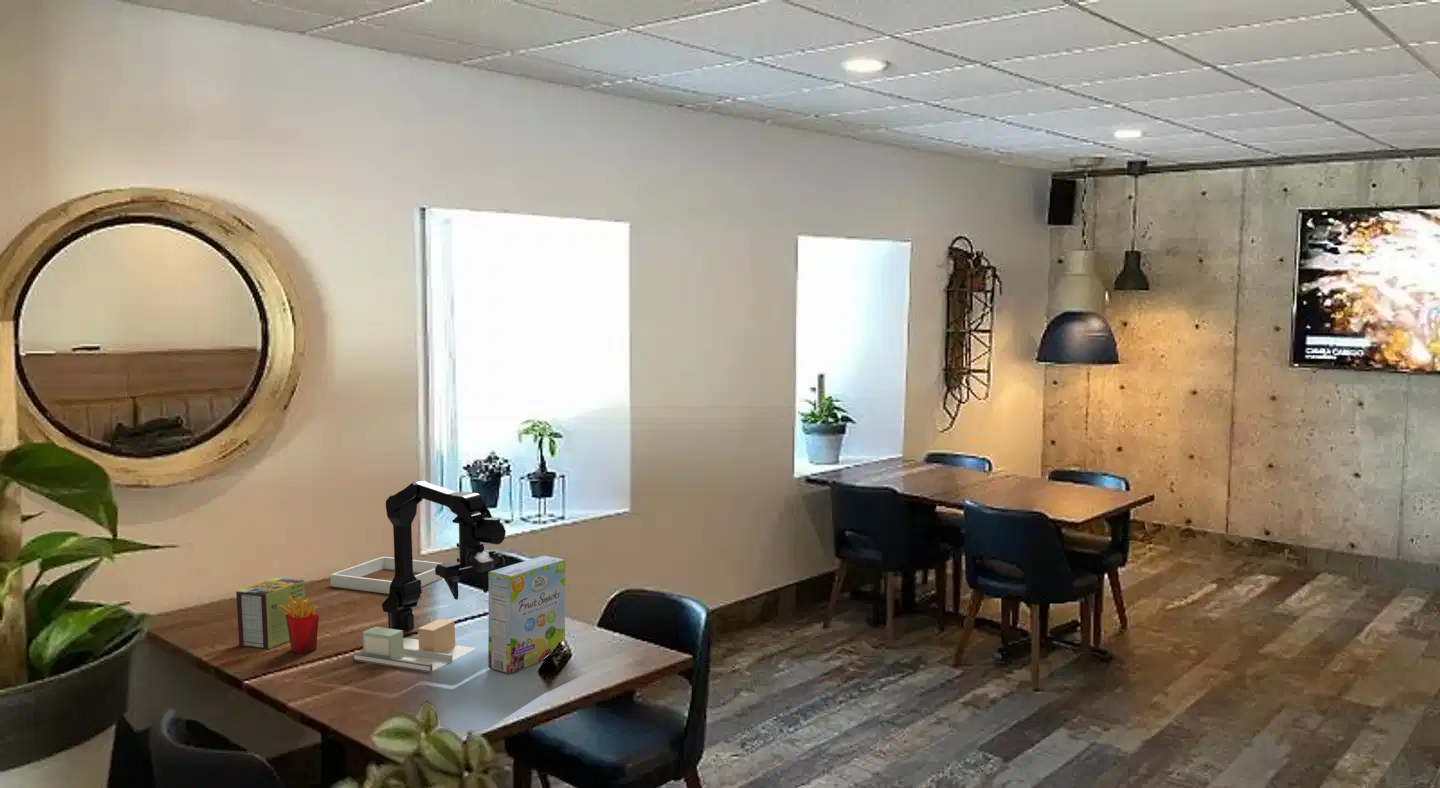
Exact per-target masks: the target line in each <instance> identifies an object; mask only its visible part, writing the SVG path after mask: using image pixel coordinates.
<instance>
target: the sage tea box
mask: <svg viewBox="0 0 1440 788" xmlns="http://www.w3.org/2000/svg"><path fill="white" fill-rule="evenodd" d="M403 638H404V630H396V629H389V627H382V626H381V627H380V626H374V627H372V628H371V627H370V628H369V629H367V630H364V631H362V644H363V645H362V648H363V652H362V653H365V654H371V655H378V656H384V657H390V658H397V659H399V658H401V657H404V647H403Z"/></svg>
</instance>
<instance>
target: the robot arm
mask: <svg viewBox="0 0 1440 788" xmlns="http://www.w3.org/2000/svg"><path fill="white" fill-rule="evenodd" d="M423 500H427V501H428V502H429V501H430V502H433V503H435V504H438V505H441V506H444V507H446V508H448V509H449V510H450V511H451V513H453V514H455V515H456V517H455V518H454V519H452V523H453V524H458V542H456V548H458V549H459V550H458V553H459V554H458V555H459V556H458V557H456V562H457V564H456V563H453V562H449V561H447V562H446V561H445V562H440V563H441V564H437V566H436V568H435V574H436V575H438V576H440V577H442V579H444V581H445V583H446V584H447V586H448V588H449V590H450V593H451V595H452V597H453V599H454V600H456V601H457V600H459V581H460V578H461V576H459V574H460V571H465V570H470V569H474V570H475V571H476V572H477V573H480V575H481V587H482V591H483V593H485V594H488V592H489V572H490V571H493V570H497V569H500V568H502V567H505V558H504V556H503V555H501V554H499V552H498V551H497V550H496V549H495V550H490V551H486V550H485V545H484V544H491V545H500V544H502V543H503V542H504V541H505V538H506V534H507V533H506V528H505V526H504V525H503V523H501V519H500V518H496V517H495V518H493V515H492V514H491V512H490V509H488V506H487V505H486V503H485V501H484V500H483V497H482V495H481V494H480V493H477V492H469V491H462V492H461V491H460V492H459V491H455V490H452V489H449V488H445V487H442V486H439V485H438V484H437V485H436V484H434V483H429V482H428V481H427V480H419V481H414V482H411V483H410V484H408V486H407V487H404V488H403V489H402V490H400V491H398V492H397V493H395V494H394V495H390V496H388V497H387V499H386V500H385V509H386V516H387V518H388V520H389V522H390V524H392V529H393V531H392V532H393V556H394V557H393V558H394V561H395V570H394V576H393V578H392V580H391V581H392V582H391V584H390V590H389V594H388V596H387V598H385V600H384V601H383V602H382V604H381V607H382V611H383V612H384V613H387V620H388V623H387V624H388V627H387V628H389V629H396V630H403V631H411V630H412V629H414V628H415V619H414V617H415V615H414V613H413V608H415V607H417V606H418V602H419V600H420V598H421V594H423V591H422V587H421V580H420V579H418V580H417V579H416V577H415V576H416V575H415V574H414V572H413V560H414V559H413V535H412V534H413V533H412V525H413V521H414V519H415V518H416V515H417V510H418V505H419V504H420V503H421V502H422V501H423Z"/></svg>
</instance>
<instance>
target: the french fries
mask: <svg viewBox="0 0 1440 788" xmlns="http://www.w3.org/2000/svg"><path fill="white" fill-rule="evenodd" d="M288 600H289V602H290V604H291V607H292V609H291V607H290V606H289V605H288V604H287V605H286V607H287V608H288V610H289V611H290V612H289V611H288V610H287V609H285V608H284V607H283V606H281V605H279V606H278V607H279V608H280V609H282V610H283V611H284V612H286V613H287V614H286V619H287V626H288V632H289V638H290V640H289V643H290V649H291V651H293V652H294V653H297V654H298V655H301V654H305V653H308V652H309V653H310V652H312V651H317V644H318V631H319V619H320V618H319V615H320V614H319V613H317V612H316V610H317V609H319V606H317V604H315V603H311V605H310V606H309V602H310V598H308V597H307V598H305V600H304V601H303V600H301V597H298V603H297V605H296V602H295V601H293V600H292V597H291V596H289V597H288ZM295 605H296V607H295ZM299 607H300V612H298V609H299Z"/></svg>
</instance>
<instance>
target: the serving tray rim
mask: <svg viewBox="0 0 1440 788" xmlns="http://www.w3.org/2000/svg"><path fill="white" fill-rule="evenodd" d="M441 563H442V562H435V561H427V560H426V561H425V560H419V559H418V560H417V559H413V573H417V574H416V575H414V576H415V577H416V579H417V580H418V579H420V580H421V588H422V587H424V586H426V585H429V584H431V583H434V582H437V581H439V580H442V579H443V578H442V577H440V576H438V575H436V574H435V568H436V566H437V564H441ZM383 569H384V570H391V571H393V570H394V571H395V561H394V557H390V556H381V557H378V558H374V559H372V560H369V561H365V562H363V563H360V564H357V565H355V566H352V567H349V568H345V569H342V570H340V571H337V572H333V573H331V574H330V575H329V576H330V587H333V588H339V589H340V588H341V589H348V590H355V591H357V590H358V591H365V592H370V593H371V592H372V593H381V594H387V595H389V590H390V584H391V582H392V580H387V579H378V578H372V577H364V576H368V575H370V574H373V573H376V572H378V571H382V570H383Z"/></svg>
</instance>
